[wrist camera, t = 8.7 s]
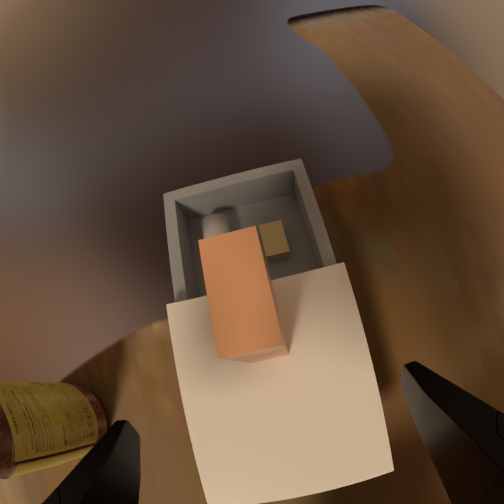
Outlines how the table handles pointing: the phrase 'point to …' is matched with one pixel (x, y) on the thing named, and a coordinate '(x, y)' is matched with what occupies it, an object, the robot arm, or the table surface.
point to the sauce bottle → (46, 425)
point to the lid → (275, 378)
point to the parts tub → (247, 223)
